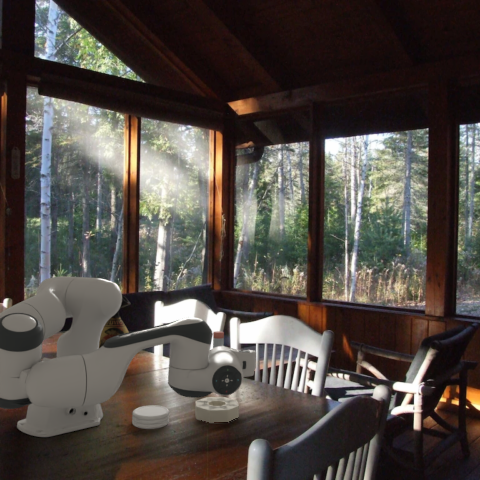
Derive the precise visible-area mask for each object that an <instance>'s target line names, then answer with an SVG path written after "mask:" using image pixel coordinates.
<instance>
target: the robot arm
mask: <svg viewBox="0 0 480 480" xmlns="http://www.w3.org/2000/svg"><path fill="white" fill-rule="evenodd" d="M122 296H123V295H122V291H121V288H120V286H119V285H118V284H117V283H116V282H114V281H111V280H108V279H105V278H104V279H103V278H100V277H87V276H86V277H83V276H65V275H62V276H54V277H50V278H49V277H48V278H45V279H43V280H42V281H41V282H40V284H39V285H38V287H37V289H36V292H35V295H32V296H31V297H28V298H26V299H24V300H22V301H21V302H18V303H16V304H14V305H12V306H10V307H8V308H6V309H5V310H3V311H1V312H0V408H1V409H4V410H15V409H20V408H24V407H26V406H27V411H26V417H25V418H23V419H21V420H18V421H17V425H16V429H18V430H19V431H21V432H22V433H24V434H27V435H29V436H32V437H33V436H34V437H39V438H49V437H54V436H58V435H62V434H67V433H71V432H74V431H75V432H76V431H79V430H83V429H84V430H85V429H87V428H91V427H96V426H99V425H100V424H101V420H102V419H103V417H104V413H103V409H102V403H104V402H107V401H108V400H110V399H111V398H112V397H114V395H115V394H116V392H117V391H118V390H119V388H120V386H121V385H122V382H123V380H124V378H125V376H126V373H127V370H128V368H129V365H130V364H131V362H132V361H133V358H135V356H136V355H137V354H138V353H139V352H141V351H144V350H145V349H148V348H152V347H156V346H161V345H166V344H169V360H168V373H167V375H168V377H167V384H168V386H169V387H170V388H171V389H172V391H174V392H175V393H176V394H178V395H179V396H181V397H185V398H193V399H194V398H206V397H209V396H210V395H211V394H216V395H219V396H221V397H225V396H230V395H233V394H235V393H236V392H237V391H238V390H239V389H240V387H241V385H242V383H243V380H244V378H249V377H252V376H255V371H256V368H257V351H256V350H255V349H237V348H232V347H228V346H225V345H224V346H218V347H215V348H213V347H212V348H210V347H211V346H210V345H211V343H212V338H213V337H212V336H213V330H212V329H211V327H210V325H209V324H208V322H206V321H205V319H203V318H201V317H200V318H199V317H189V316H188V317H184V318H180V319H178V320H177V319H176V320H173V321H171V322H168V323H164V324H159V325H155V326H151V327H146V328H141V329H138V330H134V331H129V332H128V333H124V334H121V335H117V336H114V337H112V338H109V339H107V340H106V342H105V343H104V345H103V346H102V347H101V348H99V341H100V336H101V333H102V330H103V328H104V326H105V324H106V323H107V321H108V320H109V319H110V318H111V317H112V316H114V315H115V314H116V313H117V312H118V310H119V308H120V306H121V303H122ZM119 311H120V310H119ZM69 318H72V322H71V325H70V328H69V329H68V330H67V331H65V332H64V333H62V334H61V335H60V336H59V337H58V339H57V342H56V357H54V358H49V357H43V342H44V341H45V340H47V339H49V338H51V337H52V336H54V335H56V334H58V333H59V332H60V331H61V330H62V329H63V328H64V326H65V323H66V319H69Z"/></svg>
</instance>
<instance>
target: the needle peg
mask: <svg viewBox="0 0 480 480" xmlns="http://www.w3.org/2000/svg"><path fill="white" fill-rule="evenodd" d="M212 336H213V337H212V349H213V348H215V347H218V346H225V345H224V342H225V341H224V338H225V332H224V331H218V330H217V331H212Z"/></svg>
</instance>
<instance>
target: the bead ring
mask: <svg viewBox="0 0 480 480" xmlns="http://www.w3.org/2000/svg"><path fill="white" fill-rule="evenodd" d="M194 405H195V406H194V407H195V408H194V409H195V411H194V413H195V414H194V415H195V420H198V421H201V420H202V422H204V421H206V422H205V423H207V422H209V423H208V424H215V423H214V422H228V423H230V422H229V421H231V420H233V419H235V418H238V417H239V418H240V415H239V414H240V405H239V402H238V400H237V399H234V398H231V397H230V398H229V397H225V396H205V397H202V398H200V399H198V400H195V404H194ZM239 418H238V419H239ZM235 420H236V419H235ZM233 421H234V420H233ZM231 422H232V421H231Z"/></svg>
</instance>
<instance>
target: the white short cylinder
mask: <svg viewBox="0 0 480 480" xmlns="http://www.w3.org/2000/svg"><path fill="white" fill-rule="evenodd" d="M170 412H171V411H170V410H169V409H168V407H166V406H164V405H163V406H162V405H155V404H154V405H143V406H142V405H141V406H139V407H137V408H135V409H133V411H132V413H131V415H132V417H131V419H132V420H131V423H132V425H133V426H134V427H136V428H139V429H143V430H144V429H145V430H155V429H160V428H164V427H165V426H167V425H168V424H170Z"/></svg>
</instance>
